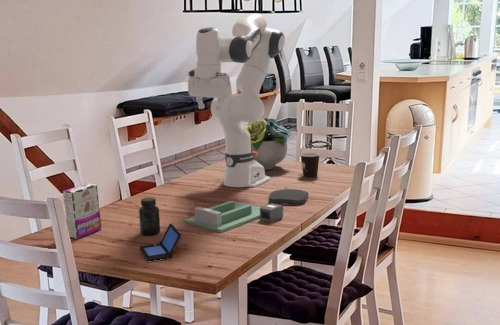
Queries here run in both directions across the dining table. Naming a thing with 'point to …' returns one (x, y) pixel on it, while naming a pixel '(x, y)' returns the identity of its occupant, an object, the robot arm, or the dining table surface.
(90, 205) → the candy bar box
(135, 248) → the dining table surface
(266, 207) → the labelled grey storage bin
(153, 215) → the supplement bottle
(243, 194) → the dining table surface
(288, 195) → the media streaming box
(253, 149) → the flower arrangement
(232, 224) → the board
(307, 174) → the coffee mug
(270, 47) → the robot arm
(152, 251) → the handheld game console
